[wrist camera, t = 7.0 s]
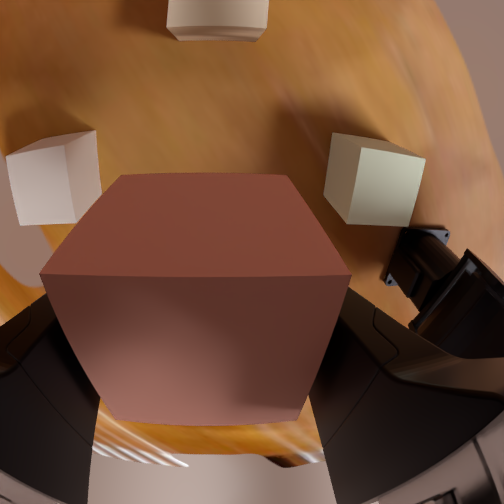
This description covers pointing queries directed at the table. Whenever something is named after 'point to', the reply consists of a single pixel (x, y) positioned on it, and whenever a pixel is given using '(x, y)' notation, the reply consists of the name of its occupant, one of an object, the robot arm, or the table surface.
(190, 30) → the ash block
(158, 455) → the table surface
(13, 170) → the pale grey block
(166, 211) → the brick-red block
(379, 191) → the sage green block
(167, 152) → the table surface
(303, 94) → the table surface
